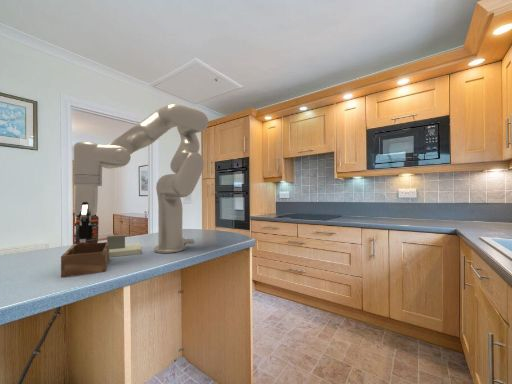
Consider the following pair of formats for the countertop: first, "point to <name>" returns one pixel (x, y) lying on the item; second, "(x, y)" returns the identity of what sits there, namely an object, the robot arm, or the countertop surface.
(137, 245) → the lid
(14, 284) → the countertop surface
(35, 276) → the countertop surface
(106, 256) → the box
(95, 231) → the supplement bottle
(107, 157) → the robot arm
